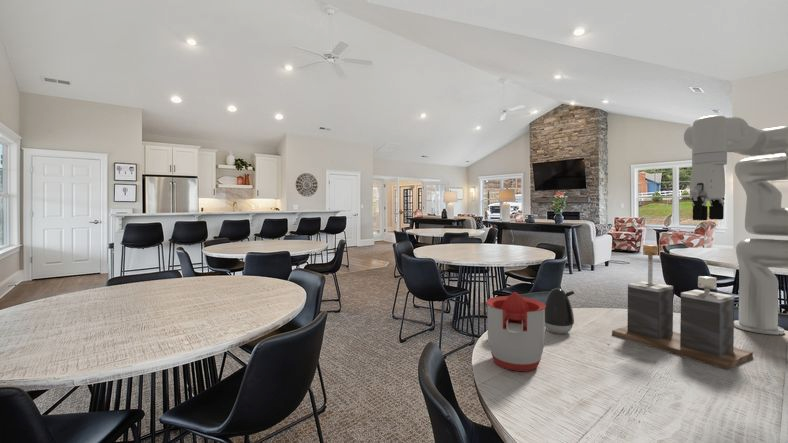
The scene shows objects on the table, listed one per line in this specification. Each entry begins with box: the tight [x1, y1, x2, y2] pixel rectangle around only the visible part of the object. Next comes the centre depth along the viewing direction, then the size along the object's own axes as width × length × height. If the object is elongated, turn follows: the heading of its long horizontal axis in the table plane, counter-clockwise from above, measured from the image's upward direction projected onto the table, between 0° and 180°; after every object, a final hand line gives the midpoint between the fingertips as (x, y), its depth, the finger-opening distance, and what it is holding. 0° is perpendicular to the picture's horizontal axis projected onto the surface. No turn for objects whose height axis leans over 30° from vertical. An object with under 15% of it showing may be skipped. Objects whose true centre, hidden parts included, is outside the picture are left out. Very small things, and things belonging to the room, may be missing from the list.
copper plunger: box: [642, 244, 659, 286], centre depth 115 cm, size 7×7×20 cm
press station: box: [611, 280, 754, 370], centre depth 109 cm, size 16×30×18 cm, turn 27°
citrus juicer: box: [485, 291, 546, 372], centre depth 97 cm, size 16×17×20 cm
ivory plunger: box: [697, 275, 718, 295], centre depth 102 cm, size 7×7×20 cm
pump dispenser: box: [543, 287, 575, 335], centre depth 123 cm, size 10×10×15 cm
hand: (708, 219), depth 102 cm, fingers open, 9 cm apart
